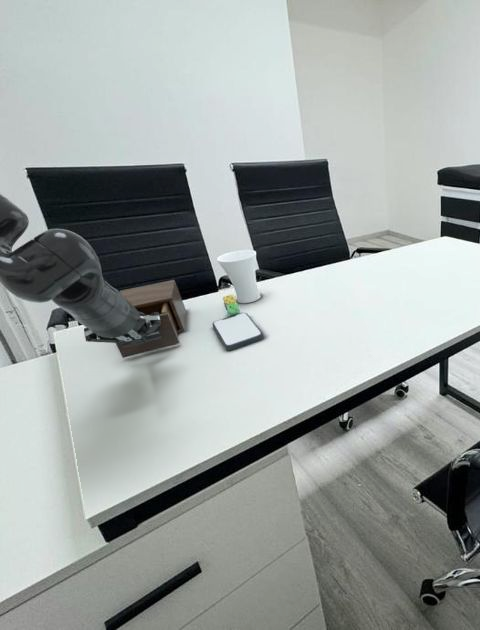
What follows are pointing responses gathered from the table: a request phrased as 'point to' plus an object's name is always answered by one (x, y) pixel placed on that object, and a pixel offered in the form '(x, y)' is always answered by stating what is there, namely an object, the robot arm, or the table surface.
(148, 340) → the drawer
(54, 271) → the robot arm
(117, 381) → the table surface
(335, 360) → the table surface
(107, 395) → the table surface
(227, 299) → the kitchen sponge
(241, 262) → the cup
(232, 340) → the phone case
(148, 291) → the cabinet
